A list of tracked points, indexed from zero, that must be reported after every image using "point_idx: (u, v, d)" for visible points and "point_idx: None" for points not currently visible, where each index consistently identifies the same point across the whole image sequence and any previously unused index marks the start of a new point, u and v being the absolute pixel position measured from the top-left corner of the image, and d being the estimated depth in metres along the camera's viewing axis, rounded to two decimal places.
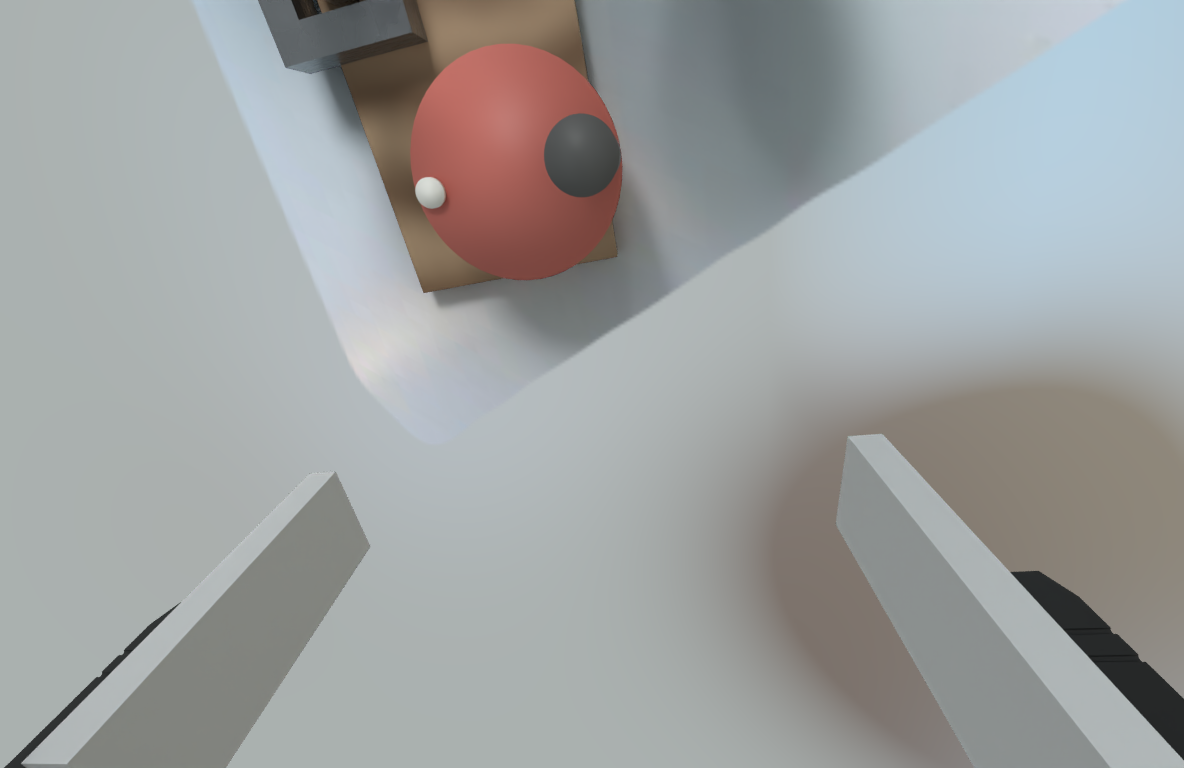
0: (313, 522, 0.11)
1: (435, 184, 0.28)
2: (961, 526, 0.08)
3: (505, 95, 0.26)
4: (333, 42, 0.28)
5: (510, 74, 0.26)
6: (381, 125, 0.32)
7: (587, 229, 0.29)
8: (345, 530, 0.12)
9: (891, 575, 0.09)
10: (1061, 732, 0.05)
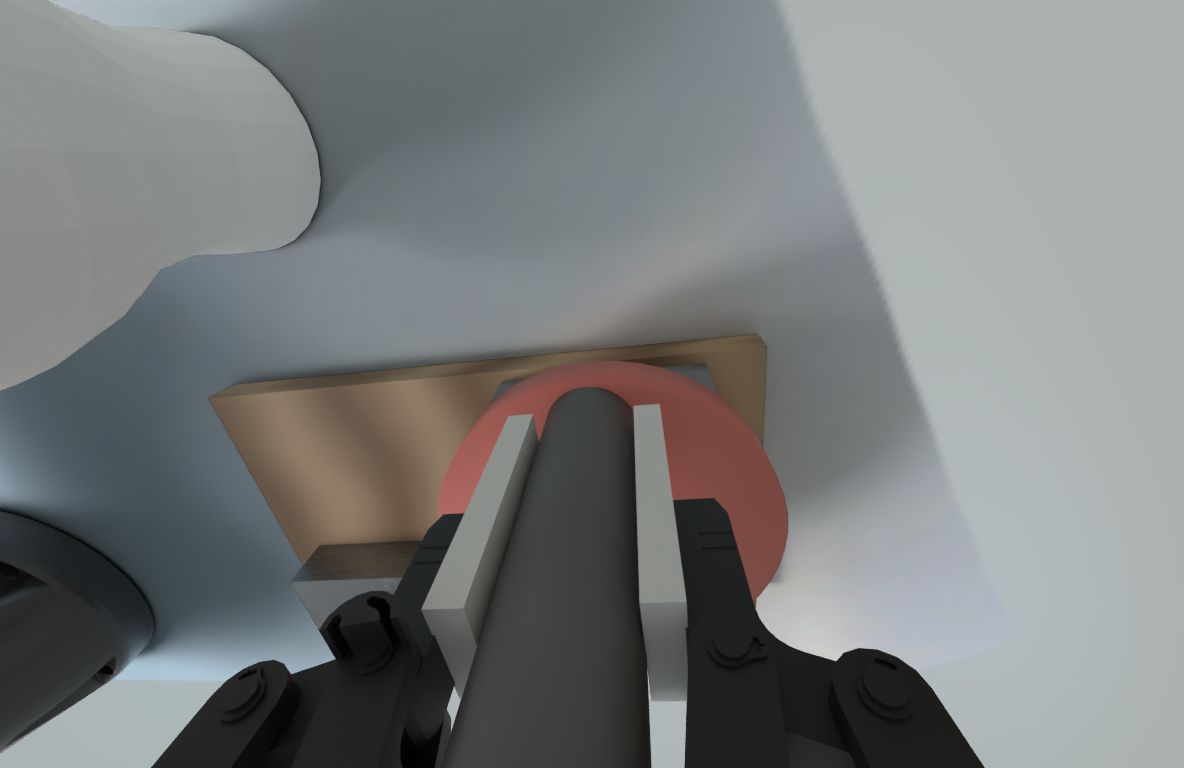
0: (527, 454, 0.13)
1: None
2: (667, 466, 0.11)
3: None
4: None
5: None
6: None
7: (716, 451, 0.15)
8: None
9: None
10: None
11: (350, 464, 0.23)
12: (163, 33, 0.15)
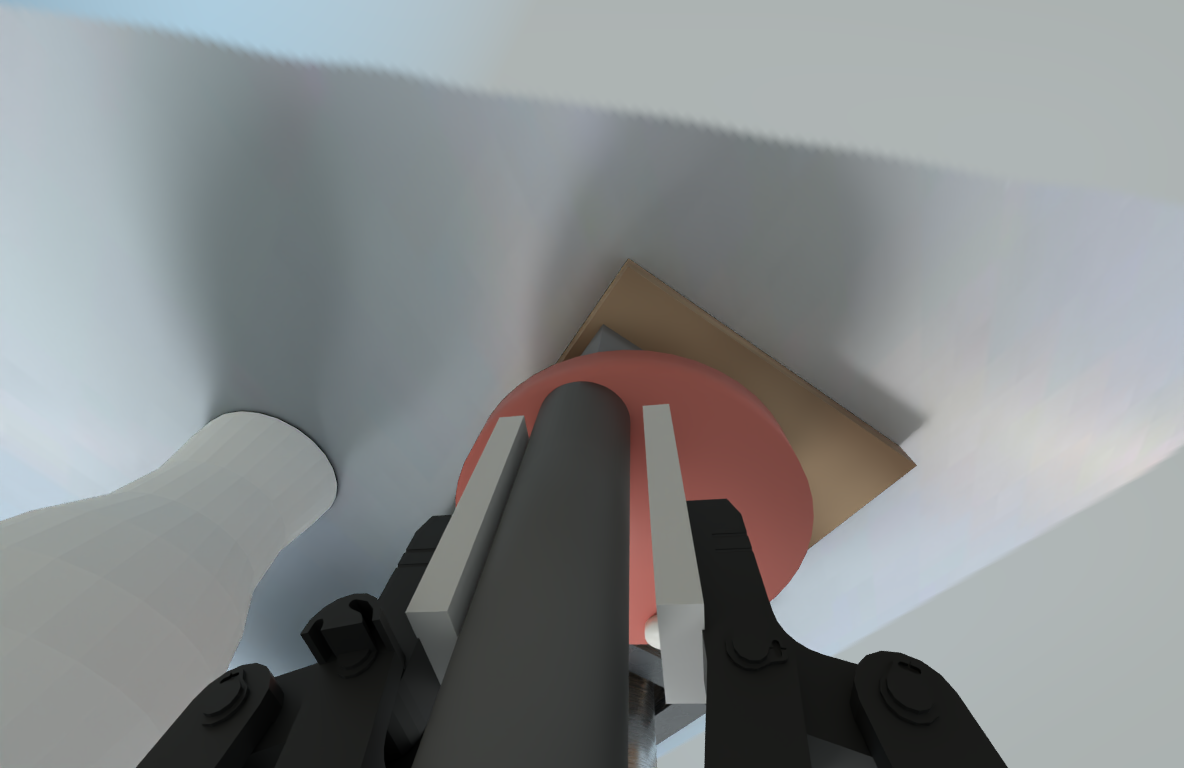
0: (518, 455, 0.13)
1: (653, 629, 0.19)
2: (679, 466, 0.11)
3: None
4: None
5: None
6: None
7: (716, 426, 0.14)
8: None
9: None
10: None
11: None
12: (182, 447, 0.23)
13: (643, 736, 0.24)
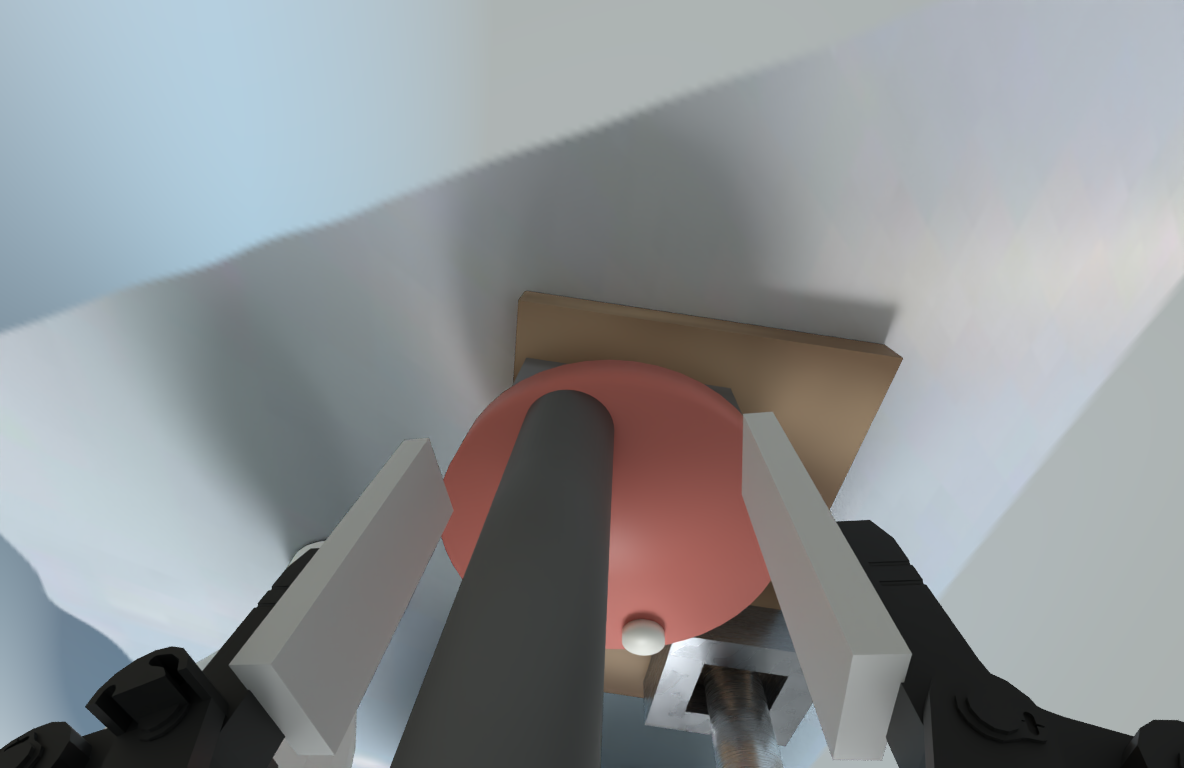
0: (415, 481, 0.12)
1: (631, 634, 0.19)
2: (811, 484, 0.09)
3: None
4: (767, 655, 0.24)
5: (477, 539, 0.18)
6: None
7: (697, 437, 0.15)
8: (436, 492, 0.13)
9: (766, 530, 0.11)
10: (833, 631, 0.07)
11: None
12: None
13: (753, 728, 0.23)
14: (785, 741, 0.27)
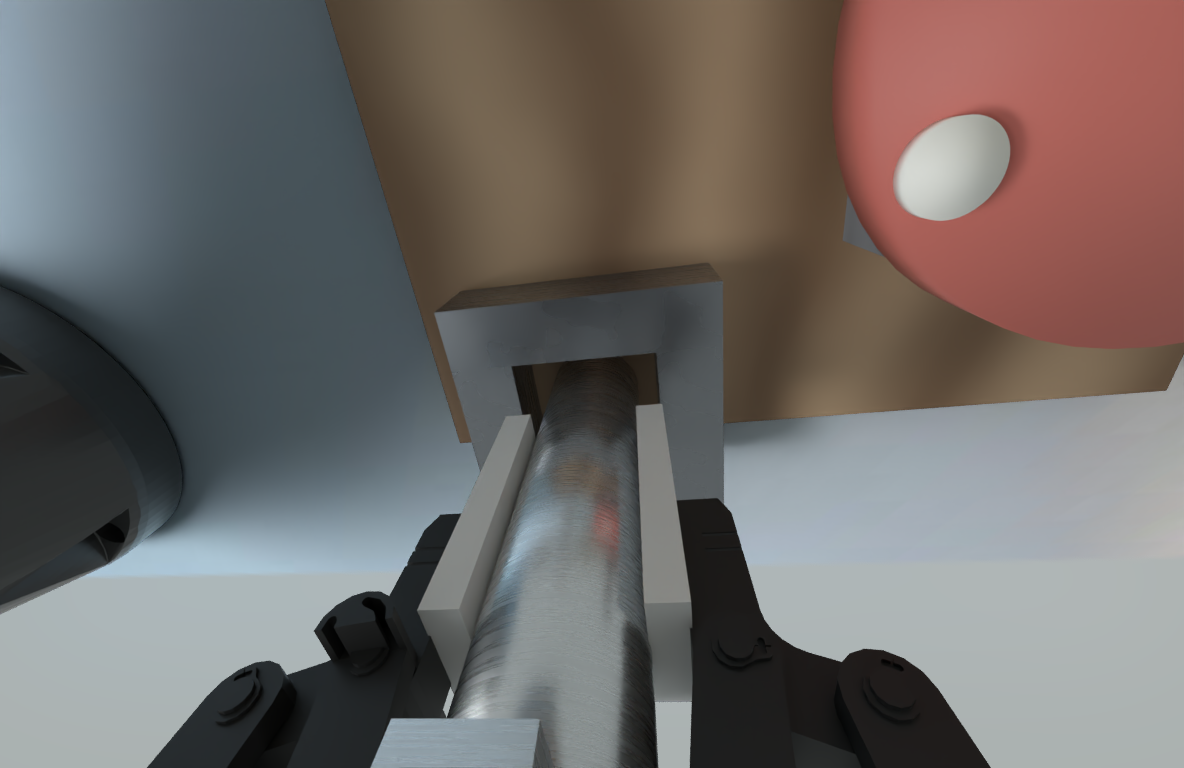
0: (525, 454, 0.13)
1: (984, 131, 0.08)
2: None
3: None
4: (706, 431, 0.15)
5: None
6: (816, 385, 0.17)
7: None
8: None
9: None
10: None
11: (544, 97, 0.13)
12: None
13: None
14: None
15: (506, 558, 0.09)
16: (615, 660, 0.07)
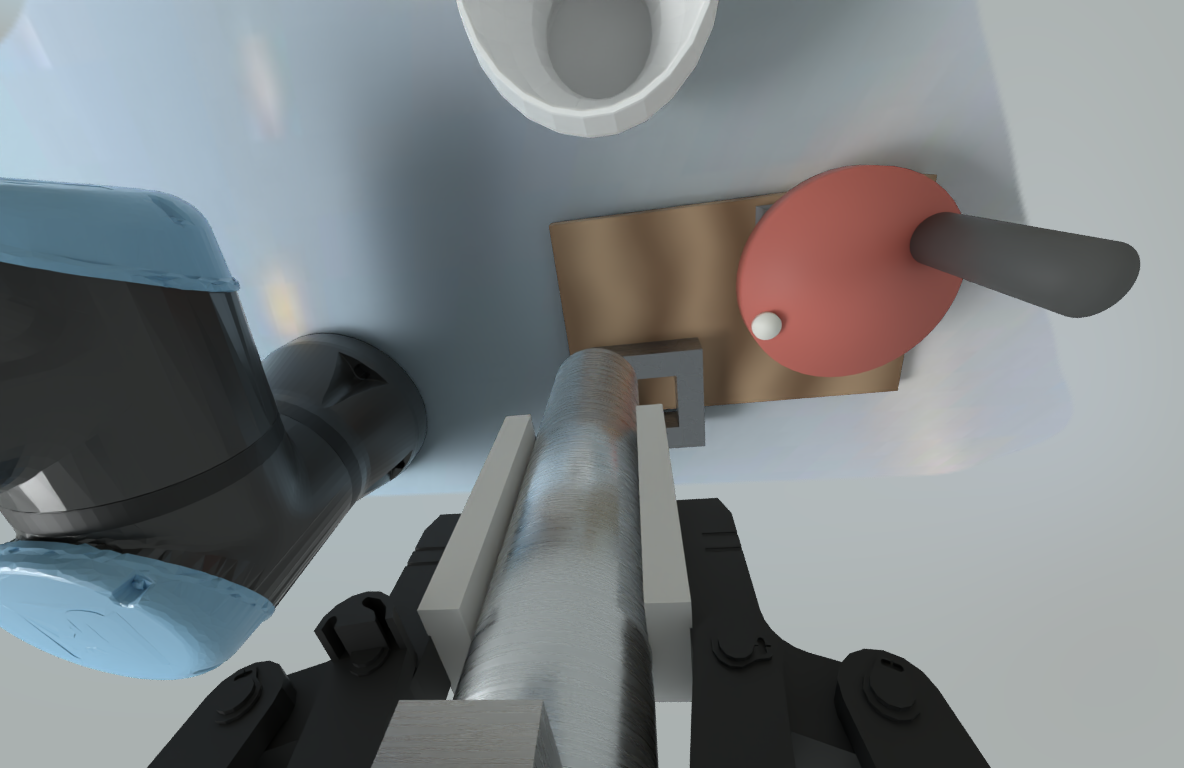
0: (525, 454, 0.13)
1: (773, 317, 0.29)
2: None
3: (838, 217, 0.27)
4: (697, 408, 0.36)
5: (842, 198, 0.26)
6: (746, 388, 0.38)
7: (931, 307, 0.28)
8: None
9: None
10: None
11: (633, 276, 0.34)
12: None
13: None
14: None
15: (508, 552, 0.09)
16: (615, 649, 0.07)
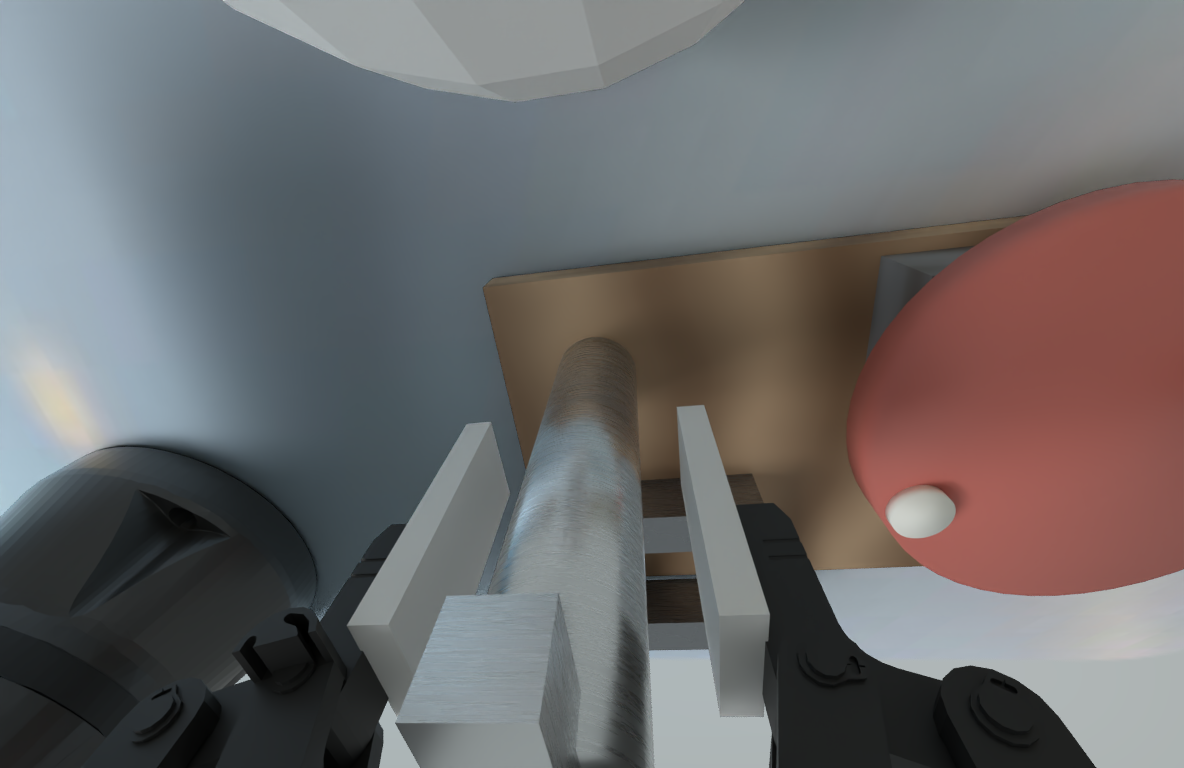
0: (482, 462, 0.12)
1: (939, 501, 0.14)
2: (723, 470, 0.10)
3: (1130, 304, 0.11)
4: None
5: (1153, 261, 0.11)
6: (830, 550, 0.22)
7: None
8: (497, 475, 0.14)
9: (689, 514, 0.11)
10: (713, 597, 0.08)
11: (640, 376, 0.19)
12: None
13: (638, 436, 0.14)
14: None
15: (520, 510, 0.10)
16: (614, 583, 0.08)
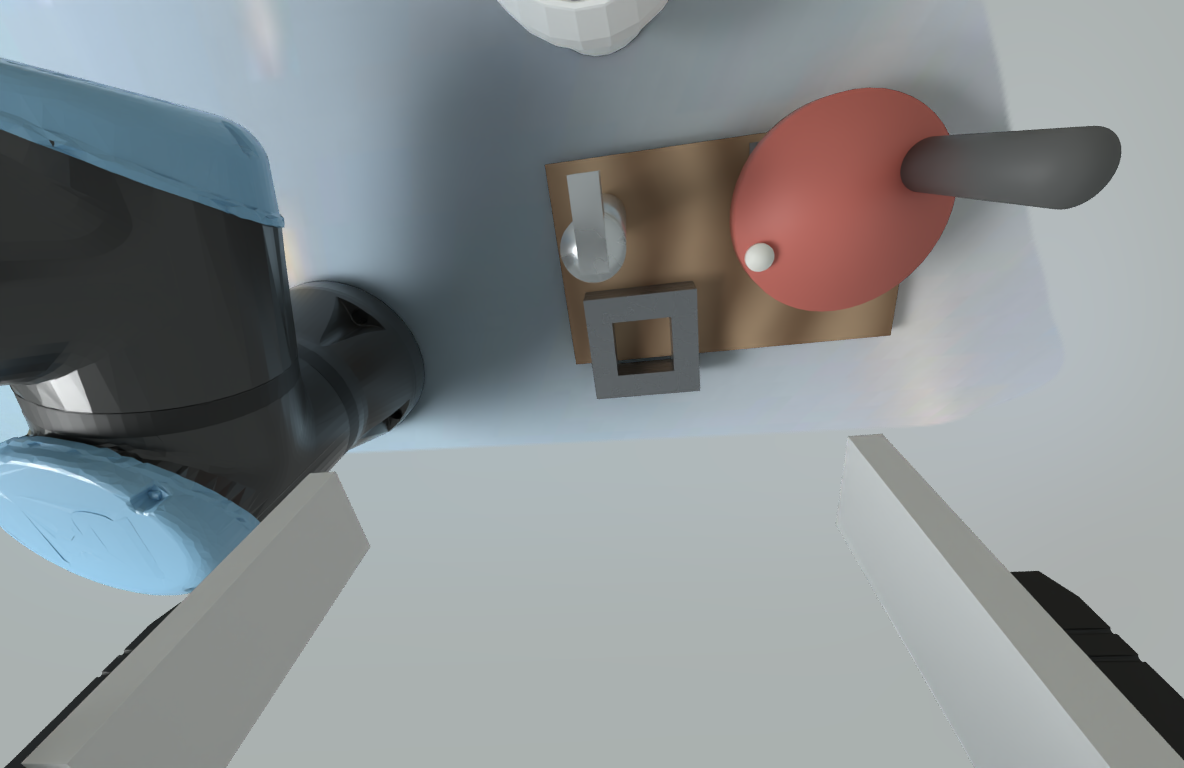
0: (313, 521, 0.11)
1: (766, 248, 0.29)
2: (961, 525, 0.08)
3: (829, 142, 0.27)
4: (691, 351, 0.36)
5: (833, 122, 0.26)
6: (741, 334, 0.38)
7: (922, 237, 0.29)
8: (345, 530, 0.12)
9: (891, 575, 0.09)
10: (1061, 732, 0.05)
11: (628, 217, 0.34)
12: None
13: None
14: (602, 396, 0.39)
15: None
16: (614, 215, 0.24)
